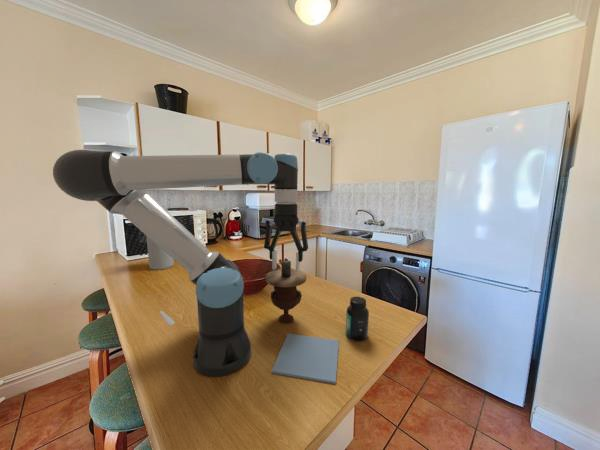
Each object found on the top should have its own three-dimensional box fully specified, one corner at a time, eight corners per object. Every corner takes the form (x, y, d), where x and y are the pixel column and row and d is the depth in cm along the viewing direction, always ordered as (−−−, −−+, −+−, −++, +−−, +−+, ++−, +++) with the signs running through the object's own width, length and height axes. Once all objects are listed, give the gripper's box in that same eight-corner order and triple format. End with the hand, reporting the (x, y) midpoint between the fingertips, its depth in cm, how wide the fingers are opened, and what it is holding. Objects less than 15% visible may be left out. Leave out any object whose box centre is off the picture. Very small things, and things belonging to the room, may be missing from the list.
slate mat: (271, 372, 60) (271, 370, 60) (287, 335, 76) (287, 333, 76) (335, 384, 57) (335, 381, 57) (338, 342, 72) (338, 340, 72)
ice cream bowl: (298, 329, 79) (298, 286, 76) (266, 325, 81) (265, 283, 79) (304, 313, 89) (304, 274, 87) (275, 310, 91) (275, 272, 89)
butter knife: (166, 326, 79) (175, 322, 81) (144, 300, 98) (152, 298, 100) (166, 328, 79) (176, 324, 82) (145, 302, 98) (153, 299, 100)
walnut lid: (259, 285, 77) (259, 266, 76) (273, 270, 91) (273, 255, 90) (301, 289, 74) (302, 270, 74) (309, 273, 88) (309, 257, 87)
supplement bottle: (346, 340, 73) (347, 304, 71) (345, 328, 80) (346, 294, 78) (369, 343, 72) (371, 305, 70) (366, 329, 79) (367, 295, 77)
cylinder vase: (154, 263, 145) (151, 223, 141) (176, 262, 147) (173, 222, 143) (145, 270, 133) (141, 226, 129) (169, 269, 135) (166, 226, 131)
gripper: (318, 203, 80) (317, 268, 84) (260, 201, 84) (261, 264, 88) (315, 204, 73) (313, 275, 76) (252, 203, 77) (253, 270, 81)
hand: (286, 269), depth 82 cm, fingers open, 8 cm apart
